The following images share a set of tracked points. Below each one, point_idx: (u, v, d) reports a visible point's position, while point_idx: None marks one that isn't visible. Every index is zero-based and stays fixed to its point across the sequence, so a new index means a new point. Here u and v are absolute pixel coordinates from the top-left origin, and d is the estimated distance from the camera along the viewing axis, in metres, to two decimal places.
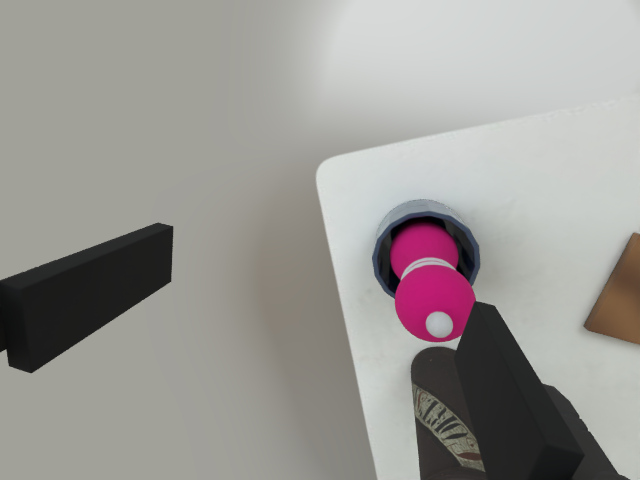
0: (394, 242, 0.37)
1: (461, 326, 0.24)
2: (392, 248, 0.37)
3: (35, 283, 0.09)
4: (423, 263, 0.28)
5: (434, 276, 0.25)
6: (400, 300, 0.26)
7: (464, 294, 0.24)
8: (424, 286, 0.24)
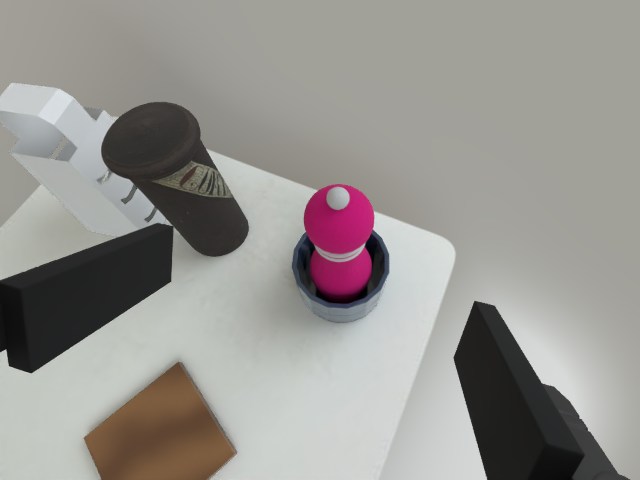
0: None
1: (319, 217, 0.27)
2: None
3: (35, 283, 0.09)
4: None
5: (368, 226, 0.27)
6: (362, 193, 0.28)
7: (342, 235, 0.26)
8: (367, 212, 0.27)
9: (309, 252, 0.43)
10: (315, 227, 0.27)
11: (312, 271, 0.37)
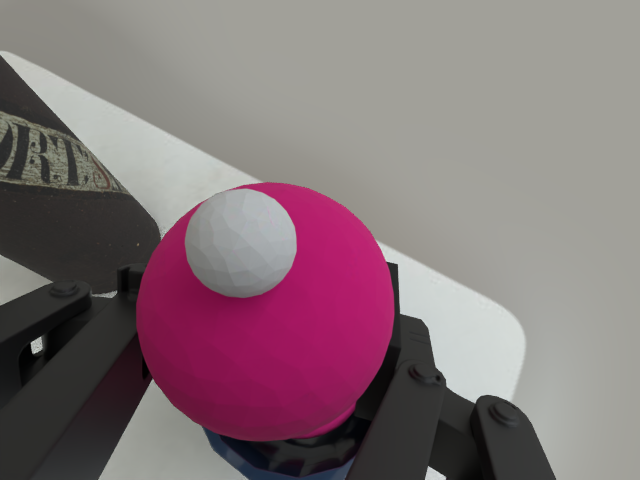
0: None
1: (163, 313, 0.06)
2: None
3: None
4: None
5: (368, 362, 0.07)
6: (362, 224, 0.08)
7: (251, 407, 0.06)
8: (371, 308, 0.07)
9: None
10: (149, 348, 0.06)
11: None
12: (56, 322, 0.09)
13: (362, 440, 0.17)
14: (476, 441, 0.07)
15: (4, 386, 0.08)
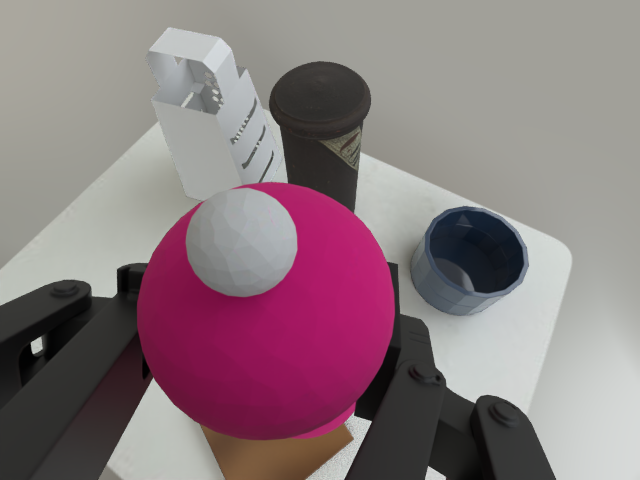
0: None
1: (164, 312, 0.06)
2: None
3: None
4: None
5: (369, 362, 0.07)
6: (363, 224, 0.08)
7: (251, 406, 0.06)
8: (371, 308, 0.07)
9: None
10: (149, 347, 0.06)
11: None
12: (56, 322, 0.09)
13: (503, 289, 0.36)
14: (476, 441, 0.07)
15: (4, 386, 0.08)
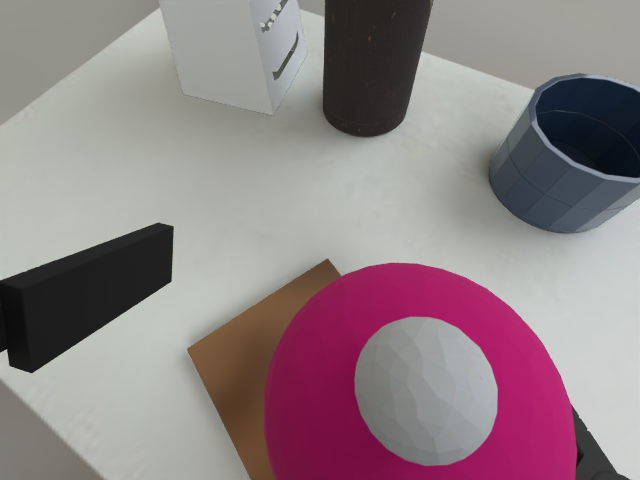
0: None
1: (312, 455, 0.05)
2: None
3: (36, 283, 0.09)
4: None
5: None
6: (516, 313, 0.07)
7: None
8: (565, 441, 0.05)
9: None
10: None
11: None
12: None
13: None
14: None
15: None
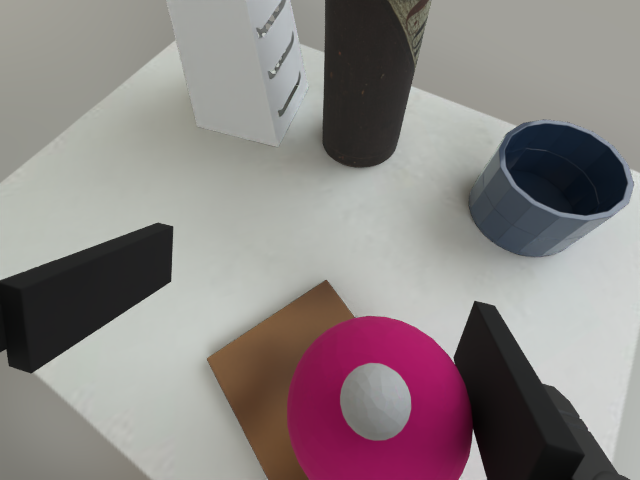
0: None
1: (318, 438, 0.09)
2: None
3: (35, 283, 0.09)
4: None
5: (460, 468, 0.09)
6: (442, 353, 0.11)
7: None
8: (459, 430, 0.09)
9: None
10: (307, 459, 0.10)
11: None
12: None
13: None
14: None
15: None
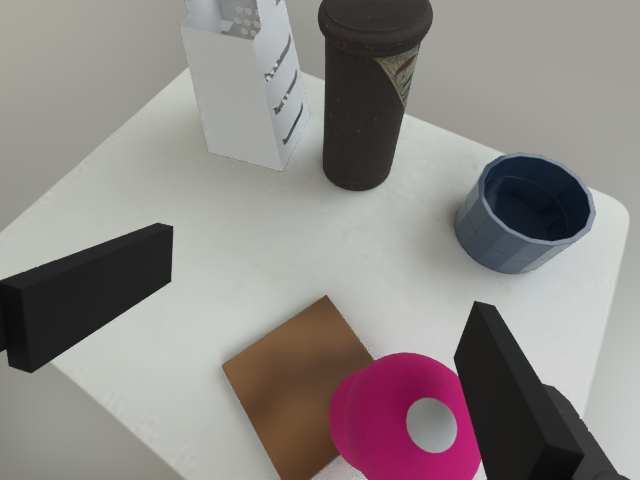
0: None
1: (383, 449, 0.13)
2: None
3: (35, 283, 0.09)
4: None
5: (477, 468, 0.14)
6: None
7: None
8: None
9: None
10: (373, 463, 0.13)
11: (334, 430, 0.24)
12: None
13: None
14: None
15: None
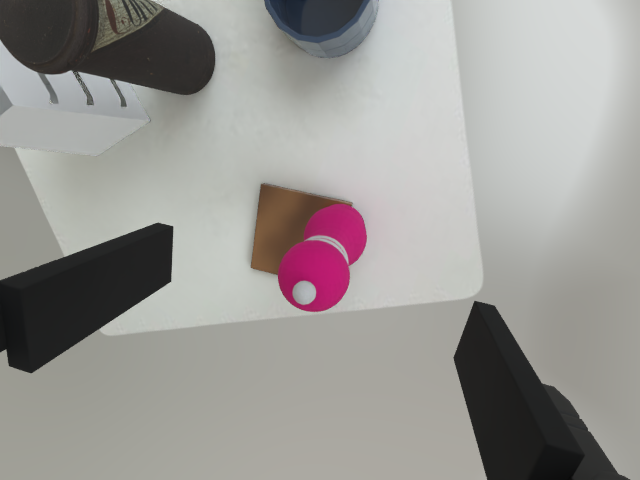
0: (347, 212, 0.37)
1: (301, 306, 0.27)
2: (341, 211, 0.37)
3: (35, 283, 0.09)
4: (344, 257, 0.30)
5: (343, 279, 0.27)
6: (316, 251, 0.26)
7: (330, 304, 0.27)
8: (334, 273, 0.26)
9: (280, 0, 0.36)
10: (304, 310, 0.28)
11: None
12: None
13: None
14: None
15: None
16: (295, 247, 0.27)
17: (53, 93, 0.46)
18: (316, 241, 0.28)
